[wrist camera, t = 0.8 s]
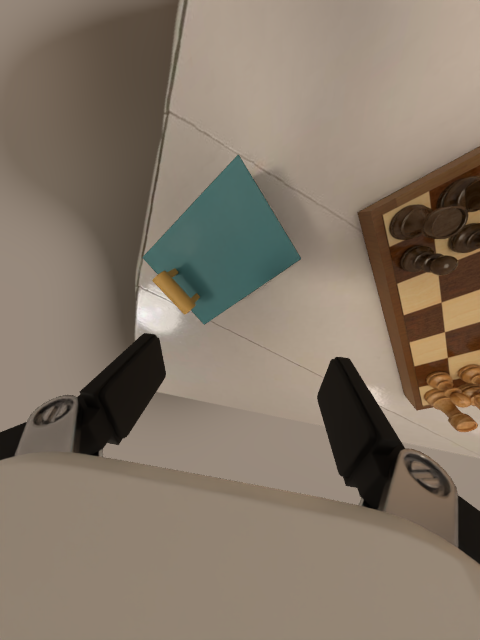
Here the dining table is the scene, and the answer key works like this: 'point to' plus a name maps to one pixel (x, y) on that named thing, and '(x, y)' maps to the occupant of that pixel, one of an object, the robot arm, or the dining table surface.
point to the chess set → (432, 284)
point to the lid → (221, 247)
